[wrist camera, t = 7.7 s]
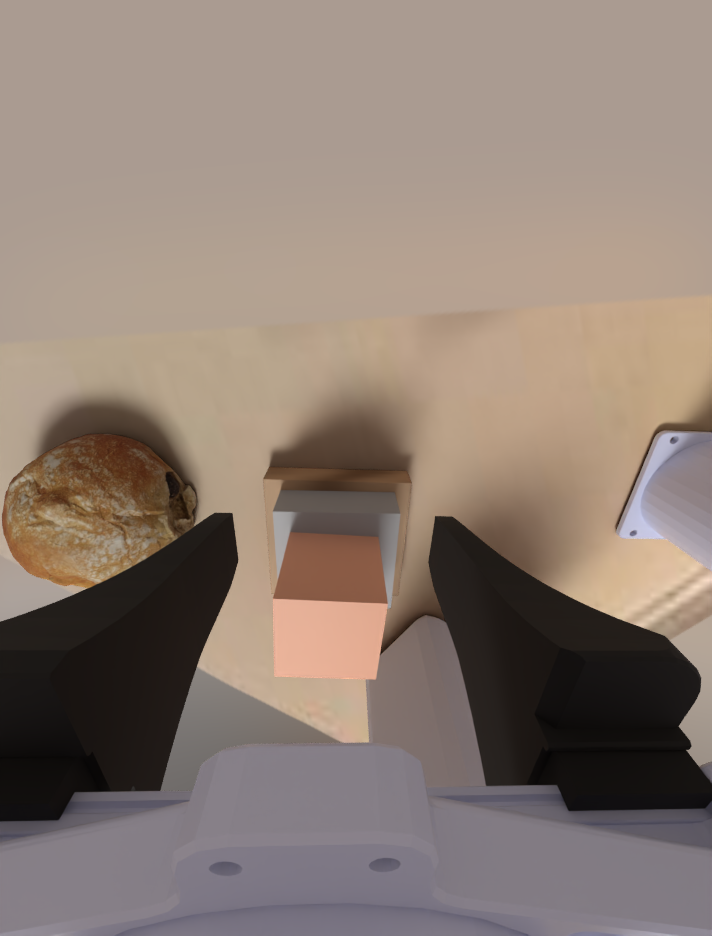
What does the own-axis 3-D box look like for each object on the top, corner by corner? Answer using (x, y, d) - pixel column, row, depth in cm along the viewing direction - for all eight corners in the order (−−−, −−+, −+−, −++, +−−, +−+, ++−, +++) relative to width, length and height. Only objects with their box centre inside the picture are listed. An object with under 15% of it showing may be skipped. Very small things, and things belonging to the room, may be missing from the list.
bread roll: (220, 515, 28) (231, 559, 21) (91, 591, 26) (54, 671, 19) (144, 405, 24) (126, 414, 17) (-18, 481, 22) (-117, 528, 15)
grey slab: (394, 492, 22) (400, 513, 19) (386, 580, 24) (390, 608, 22) (280, 489, 21) (272, 511, 19) (285, 579, 24) (279, 607, 22)
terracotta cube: (369, 603, 22) (375, 679, 17) (289, 599, 22) (274, 676, 17) (378, 536, 20) (387, 603, 15) (290, 531, 20) (273, 598, 15)
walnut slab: (405, 466, 24) (411, 483, 21) (393, 571, 27) (398, 595, 25) (271, 462, 23) (263, 479, 21) (277, 569, 27) (271, 593, 25)
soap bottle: (423, 604, 28) (777, 1942, 5) (503, 647, 30) (994, 1700, 7) (358, 668, 31) (397, 1703, 8) (436, 703, 33) (638, 1581, 10)
